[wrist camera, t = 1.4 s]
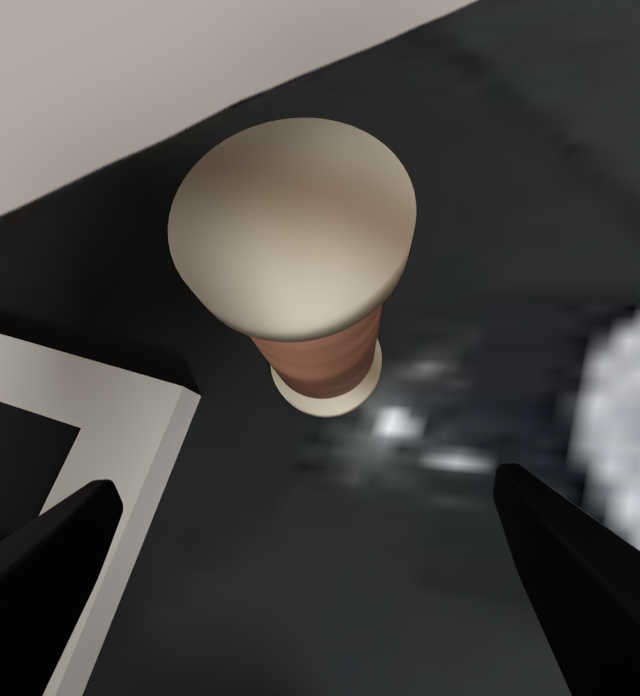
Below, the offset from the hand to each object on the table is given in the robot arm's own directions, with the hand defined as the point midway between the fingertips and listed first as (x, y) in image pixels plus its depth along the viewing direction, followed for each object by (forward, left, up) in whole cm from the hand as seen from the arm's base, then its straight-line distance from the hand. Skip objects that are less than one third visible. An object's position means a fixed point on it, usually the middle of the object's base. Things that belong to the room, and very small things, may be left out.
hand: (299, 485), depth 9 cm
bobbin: (+6, +2, -13) cm, 15 cm away
